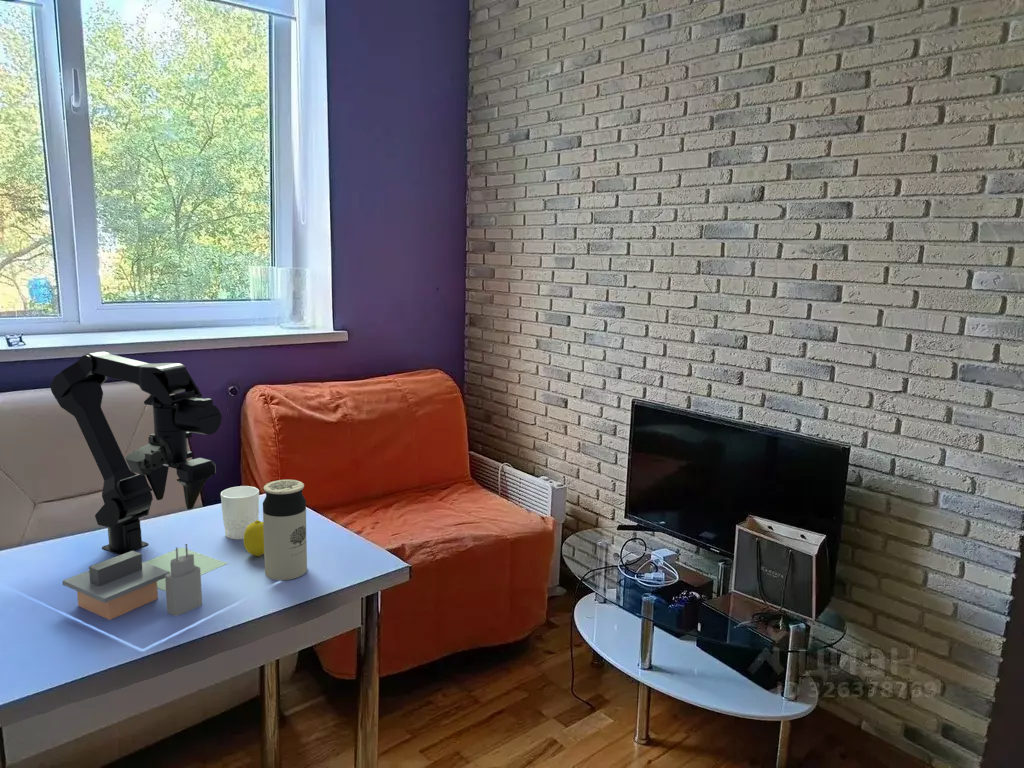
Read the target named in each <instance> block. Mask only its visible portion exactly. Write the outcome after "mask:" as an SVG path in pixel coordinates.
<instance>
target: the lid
mask: <svg viewBox="0 0 1024 768" xmlns="http://www.w3.org/2000/svg"><path fill="white" fill-rule="evenodd" d="M142 556H143V555H142V553H141V552H137V551H136V550H134V551H130V552H128V553H125V554H122V555H116V556H115V557H111V558H108V559H106V560H104V561H101V562H98V563H95V564H93V565H89V566H88V570H87V571H83V572H82V573H79V574H77V575H73V576H71V577H69V578H66V579H63V580H62V586H65V587H67V588H69V589H72V590H74V591H76V592H77V591H78V592H81V593H83V594H85V595H87V596H90V597H92V598H94V599H97V600H99V601H101V602H103V603H106V602H108V601H111V600H113V599H116V598H118V597H120V596H123V595H125V594H128V593H130V592H132V591H135V590H137V589H139V588H142V587H144V586H147V585H149V584H151V583H154V582H156V581H159V580H161V579H163V578H165V575H166V574H167V573H169V571H166V570H164V569H161V568H158V567H156V566H153V565H150V564H148V563H145V562H146V561H143V560H142V559H143V558H142Z"/></svg>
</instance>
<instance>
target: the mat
mask: <svg viewBox="0 0 1024 768" xmlns="http://www.w3.org/2000/svg"><path fill="white" fill-rule="evenodd" d="M188 554H193V555H194V565H195V566H197V567H200V572H201V576H202V575H205V574H207V573H209V572H212V571H214V570H216V569H218V568H221V567H223V566H225V565H228V564H229V563H228V562H225V561H222V560H220V559H217V558H214V557H210V556H208V555H206V554H202V553H198V552H197V551H193V550H191V549H188ZM183 555H186V547H180V548H178V557H181V556H183ZM175 558H176V549H174V550H172V551H170V552H167V553H164V554H161V555H159V556H157V557H154V558H151V559H148V560H146V561H144V562H145V563H148V564H150V565H153V566H156V567H158V568H161V569H164V570H166V571H169V573H170V572H171V566H170V562H171V560H173V559H175ZM157 589H159V590H162V591H164V592H166V582H165V578H163V579H161V580H159V581H157Z"/></svg>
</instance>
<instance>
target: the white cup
mask: <svg viewBox="0 0 1024 768" xmlns="http://www.w3.org/2000/svg"><path fill="white" fill-rule="evenodd" d="M220 500H221V501H220V502H221V513H222V520H223V521H222V522H223V526H224V533H225V534H224V535H225V537H226V538H227V539H231V540H244V533H245V530H246V528H247V527H248V525H250V524H251V523H253V522H255V521H256V520H259V516H260V515H259V513H260V510H259V509H260V508H259V507H260V504H259V503H260V490H259V488H257V487H255V486H249V485H240V486H238V485H237V486H233V487H229V488H226V489H224V490H222V491H221V492H220Z"/></svg>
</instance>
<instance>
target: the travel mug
mask: <svg viewBox="0 0 1024 768" xmlns="http://www.w3.org/2000/svg"><path fill="white" fill-rule="evenodd" d="M304 487H305V483H303V482H302V481H299V480H297V479H279V480H274V481H270V482H268V483H266V484H265V485H264V486H263V490H264V492H265V498H264V500H263V501H262V522H263V528H264V554H263V555H264V558H263V559H264V575H265V576H266V577H267V578H268V579H271V580H278V581H288V580H295V579H297V578H299V577H301V576H303V575H304V574H306V573H307V571H308V552H307V551H308V549H307V545H308V544H307V543H308V541H307V539H308V538H307V503H306V502H307V499H306V498H305V496H304V495H303V489H304Z"/></svg>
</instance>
